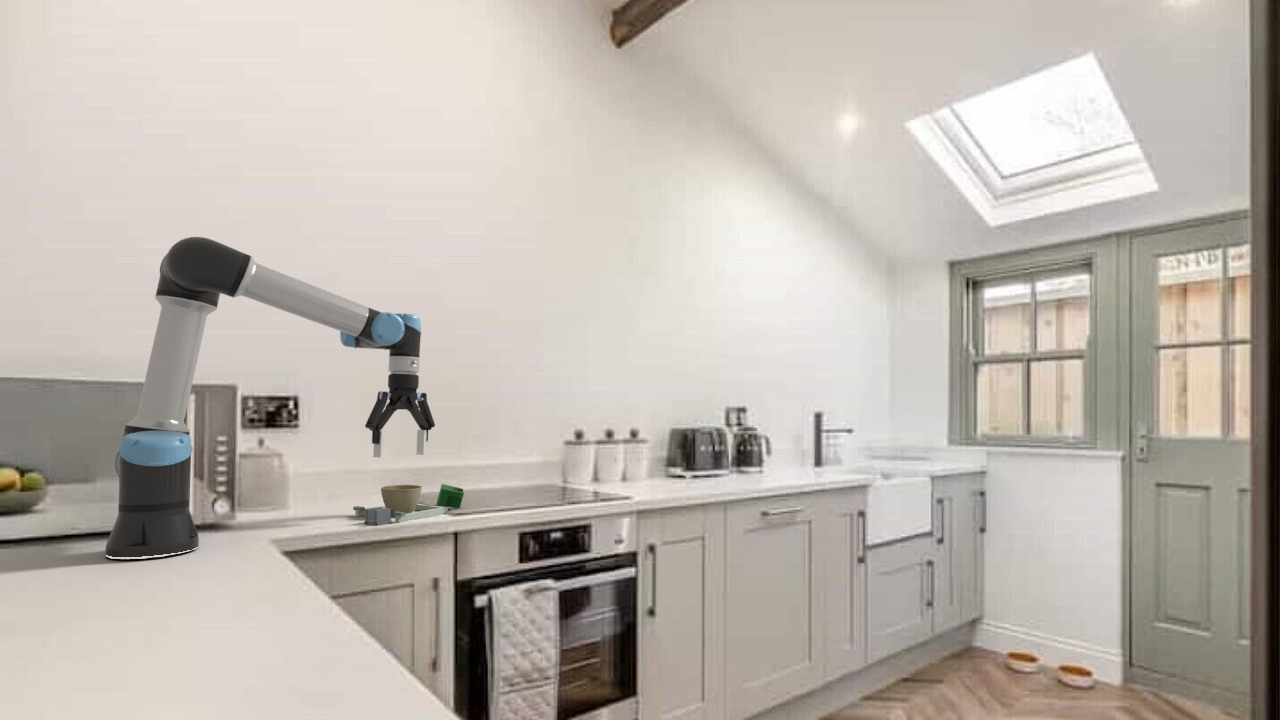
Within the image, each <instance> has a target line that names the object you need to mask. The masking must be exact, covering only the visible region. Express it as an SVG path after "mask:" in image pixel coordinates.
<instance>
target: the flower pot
mask: <svg viewBox="0 0 1280 720" xmlns="http://www.w3.org/2000/svg"><path fill="white" fill-rule="evenodd" d="M422 487H423V486H421V485H417V484H397V485H394V484H393V485H385V486H381V487H380V493H381V498H382V501H383V503H384V506H386V508H391V517H395V516H394V515H393V512H396V511H398V512H405V514H408V513H414V512H415V510H414V509H415V507H416V505H417V504H419V500H420V497H421V493H422Z"/></svg>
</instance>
